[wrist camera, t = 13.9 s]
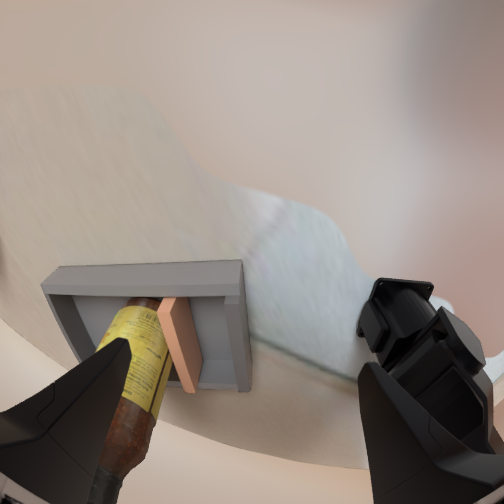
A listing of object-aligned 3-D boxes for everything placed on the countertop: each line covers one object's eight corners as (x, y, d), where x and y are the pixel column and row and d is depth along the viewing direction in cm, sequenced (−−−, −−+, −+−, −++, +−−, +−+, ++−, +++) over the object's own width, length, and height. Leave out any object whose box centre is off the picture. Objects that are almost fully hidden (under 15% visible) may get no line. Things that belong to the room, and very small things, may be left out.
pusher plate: (183, 280, 23) (169, 312, 19) (202, 359, 27) (195, 393, 23) (172, 280, 23) (156, 312, 19) (193, 359, 27) (185, 392, 23)
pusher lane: (241, 259, 22) (237, 291, 18) (252, 363, 28) (250, 398, 24) (59, 266, 24) (34, 290, 19) (97, 354, 29) (83, 381, 25)
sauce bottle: (112, 295, 24) (6, 480, 6) (170, 288, 23) (77, 522, 6) (138, 346, 27) (72, 518, 9) (193, 344, 26) (145, 545, 8)
